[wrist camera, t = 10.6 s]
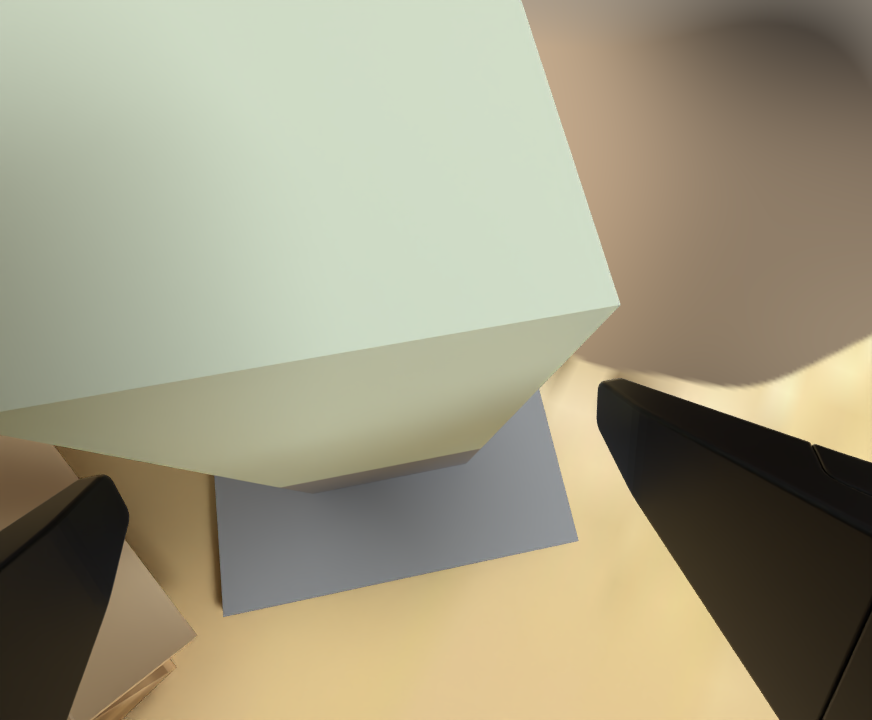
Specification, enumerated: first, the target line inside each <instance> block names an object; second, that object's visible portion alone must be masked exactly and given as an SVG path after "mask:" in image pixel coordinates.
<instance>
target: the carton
mask: <svg viewBox="0 0 872 720" xmlns="http://www.w3.org/2000/svg"><path fill="white" fill-rule="evenodd" d="M77 480H79V478H78V477H77V476H76V474H75V473H74V472H73V470H72V469H71V468H70V466H69V465H68V464H67V462H66V461H65V460H64V458H63V457H62V456H61V455H60V453H59V452H58V451H57V449H56V448H55V447H54V445H51V444H46V443H40V442H35V441H30V440H25V439H19V438H14V437H9V436H3V435H0V531H1V530H2V529H4V528H6V527H7V526H9V525H10V524H12V523H13V522H15V521H16V520H18V519H19V518H21V517H22V516H24V515H25V514H27V513H28V512H30V511H31V510H33V509H34V508H36V507H37V506H39V505H40V504H42V503H43V502H45V501H46V500H48V499H49V498H51V497H53V496H54V495H56V494H57V493H59V492H60V491H62V490H63V489H65V488H66V487H68V486H69V485H71V484H72V483H74V482H75V481H77ZM196 637H197V634H196V633H195V632H194V630H193V629H192V628H191V626H190V625H189V624H188V622H187V621H186V620H185V618H184V617H183V616H182V615H181V613H180V612H179V611H178V609H177V608H176V607H175V605H174V604H173V603H172V601H171V600H170V599H169V597H168V596H167V595H166V593H165V592H164V591H163V589H162V588H161V587H160V585H159V584H158V583H157V581H156V580H155V579H154V578H153V576H152V575H151V574H150V572H149V571H148V570H147V568H146V567H145V566H144V564H143V563H142V562H141V560H140V559H139V558H138V556H137V555H136V554H135V552H134V551H133V550H132V548H131V547H130V546H129V544H128V543H127V542H126V540H124V544H123V548H122V552H121V556H120V561H119V565H118V569H117V573H116V577H115V581H114V585H113V590H112V593H111V597H110V600H109V604H108V607H107V610H106V613H105V616H104V619H103V622H102V625H101V627H100V630H99V633H98V636H97V638H96V641H95V644H94V647H93V650H92V652H91V655H90V658H89V661H88V664H87V666H86V669H85V672H84V675H83V677H82V680H81V683H80V686H79V689H78V691H77V694H76V697H75V700H74V702H73V705H72V708H71V711H70V714H69V716H68V719H67V720H121V719H122V718H123V717H125V716H126V715H127V714H128V713H129V712H130V711H131V710H132V709H133V708H134V707H135V706H136V705H137V704H138V703H139V702H140V701H141V700H142V699H143V698H145V697H146V696H147V695H148V694H149V693H150V692H151V691H152V690H153V689H154V688H155V687H156V686H157V685H158V684H159V683H160V682H161V681H162V680H163V679H164V678H166V677H167V676H168V675H169V674H170V673H171V672H172V671H173V670H174V669H175V668H176V666H175V665H174V664H173V662H172V661H171V659H170V658H172V657H173V656H174V655H176V654H177V653H178V652H179V651H181V650H182V649H183V648H184V647H186V646H187V645H188V644H190V643H191V642H192V641H193V640H194V639H195V638H196Z"/></svg>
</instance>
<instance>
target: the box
mask: <svg viewBox="0 0 872 720" xmlns="http://www.w3.org/2000/svg"><path fill="white" fill-rule="evenodd" d="M619 306H620V302H619V298H618V296H617V292H616V289H615V286H614V284H613V280H612V277H611V274H610V271H609V268H608V265H607V262H606V259H605V256H604V253H603V250H602V247H601V243H600V240H599V237H598V234H597V231H596V228H595V225H594V222H593V219H592V216H591V213H590V210H589V207H588V204H587V201H586V197H585V194H584V191H583V188H582V185H581V182H580V179H579V176H578V173H577V170H576V167H575V164H574V161H573V158H572V155H571V151H570V148H569V145H568V142H567V139H566V137H565V133H564V130H563V127H562V124H561V121H560V118H559V115H558V112H557V109H556V106H555V103H554V99H553V96H552V94H551V90H550V87H549V84H548V81H547V78H546V75H545V72H544V69H543V66H542V63H541V60H540V57H539V53H538V51H537V47H536V44H535V41H534V38H533V35H532V32H531V29H530V26H529V23H528V20H527V17H526V14H525V11H524V8H523V5H522V1H521V0H0V435H3V436H9V437H14V438H19V439H25V440H30V441H35V442H40V443H46V444H51V445H56V446H62V447H67V448H72V449H78V450H83V451H88V452H93V453H99V454H104V455H109V456H115V457H120V458H125V459H130V460H136V461H141V462H146V463H152V464H157V465H162V466H168V467H173V468H178V469H183V470H189V471H194V472H199V473H205V474H210V475H215V476H221V477H226V478H231V479H236V480H242V481H247V482H252V483H258V484H263V485H268V486H273V487H279V488H284V489H289V490H295V491H300V492H305V493H311V494H315V493H320V492H325V491H330V490H335V489H341V488H346V487H351V486H356V485H361V484H366V483H371V482H376V481H381V480H386V479H391V478H396V477H402V476H407V475H412V474H417V473H422V472H427V471H432V470H437V469H442V468H447V467H452V466H457V465H463V464H466V463H467V462H468V461H469V460H470V459H471V458H472V457H473V456H474V455H475V454H476V453H477V452H478V451H479V450H480V449H481V448H482V447H483V446H484V445H485V444H486V443H487V442H488V441H489V440H490V439H491V438H492V437H493V436H494V435H495V433H496V432H497V431H498V430H499V429H500V428H501V427H502V426H503V425H504V424H505V423H506V422H507V421H508V420H509V419H510V418H511V417H512V416H513V415H514V414H515V413H516V412H517V411H518V410H519V409H520V408H521V407H522V406H523V405H524V404H525V403H526V402H527V401H528V400H529V399H530V397H531V396H532V395H533V394H534V393H535V392H536V391H537V390H538V389H539V388H540V387H541V386H542V385H543V384H544V383H545V382H546V381H547V380H548V379H549V378H550V377H551V376H552V375H553V374H554V373H555V372H556V371H557V370H558V369H559V368H560V367H561V366H562V365H563V364H564V363H565V361H566V360H567V359H568V358H569V357H570V356H571V355H572V354H573V353H574V352H575V351H576V350H577V349H578V348H579V347H580V346H581V345H582V344H583V343H584V342H585V341H586V340H587V339H588V338H589V337H590V336H591V335H592V333H594V332H595V331H596V330H597V328H599V327H600V325H601V324H602V323H603V322H604V321H605V320H606V319H607V318H608V317H609V316H610V315H611V314H612V313H613V312H614V311H615V310H616V309H617V308H618V307H619Z"/></svg>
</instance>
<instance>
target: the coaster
mask: <svg viewBox="0 0 872 720" xmlns="http://www.w3.org/2000/svg"><path fill="white" fill-rule="evenodd" d="M214 478H215V494H216V509H217V525H218V540H219V556H220V571H221V587H222V602H223V617H226V616H230V615H235V614H240V613H244V612H249V611H254V610H258V609H263V608H268V607H272V606H277V605H282V604H286V603H291V602H296V601H300V600H305V599H310V598H314V597H319V596H324V595H328V594H333V593H338V592H342V591H347V590H352V589H356V588H361V587H366V586H370V585H375V584H380V583H384V582H389V581H394V580H398V579H403V578H408V577H412V576H417V575H422V574H426V573H431V572H436V571H440V570H445V569H450V568H454V567H459V566H464V565H468V564H473V563H478V562H482V561H487V560H492V559H496V558H501V557H506V556H510V555H515V554H520V553H524V552H529V551H534V550H538V549H543V548H548V547H552V546H557V545H562V544H566V543H571V542H576V541H578V537H577V533H576V529H575V525H574V522H573V518H572V514H571V510H570V506H569V502H568V499H567V495H566V491H565V487H564V483H563V479H562V476H561V472H560V468H559V464H558V460H557V456H556V453H555V449H554V445H553V441H552V437H551V433H550V429H549V426H548V422H547V418H546V414H545V410H544V406H543V403H542V399H541V395H540V391H539V389H538V390H537V391H536V392H535V393H534V394H533V395H532V396H531V397H530V399H529V400H528V401H527V402H526V403H525V404H524V405H523V406H522V407H521V408H520V409H519V410H518V411H517V412H516V413H515V414H514V415H513V416H512V417H511V418H510V419H509V420H508V421H507V422H506V423H505V424H504V425H503V426H502V427H501V428H500V429H499V430H498V431H497V432H496V433H495V435H494V436H493V437H492V438H491V439H490V440H489V441H488V442H487V443H486V444H485V445H484V446H483V447H482V448H481V449H480V450H479V451H478V452H477V453H476V454H475V455H474V456H473V457H472V458H471V459H470V460H469V461H468V462H467V463H466V464H463V465H457V466H452V467H447V468H442V469H437V470H432V471H427V472H422V473H417V474H412V475H407V476H402V477H396V478H391V479H386V480H381V481H376V482H371V483H366V484H361V485H356V486H351V487H346V488H341V489H335V490H330V491H325V492H320V493H315V494H311V493H305V492H300V491H295V490H289V489H284V488H279V487H273V486H268V485H263V484H258V483H252V482H247V481H242V480H236V479H231V478H226V477H221V476H215V475H214Z"/></svg>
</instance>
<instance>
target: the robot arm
mask: <svg viewBox="0 0 872 720" xmlns="http://www.w3.org/2000/svg"><path fill="white" fill-rule="evenodd" d="M597 424H598V428H599V430H600V432H601V434H602V436H603V438H604V440H605V442H606V444H607V446H608V448H609V450H610V452H611V454H612V456H613V458H614V460H615V462H616V464H617V466H618V468H619V470H620V472H621V474H622V476H623V478H624V480H625V482H626V484H627V486H628V488H629V490H630V492H631V493H632V495H633V497H634V498H635V500H636V502H637V503H638V505H639V506H640V508H641V509H642V511H643V513H644V514H645V516H646V517H647V519H648V520H649V522H650V523H651V525H652V526H653V528H654V529H655V531H656V532H657V534H658V535H659V537H660V538H661V540H662V542H663V543H664V545H665V546H666V548H667V549H668V551H669V552H670V554H671V555H672V557H673V558H674V560H675V561H676V563H677V564H678V566H679V567H680V569H681V571H682V572H683V574H684V575H685V577H686V578H687V580H688V581H689V583H690V584H691V586H692V587H693V589H694V590H695V592H696V593H697V595H698V596H699V598H700V599H701V601H702V603H703V604H704V606H705V607H706V609H707V610H708V612H709V613H710V615H711V616H712V618H713V619H714V621H715V622H716V624H717V625H718V627H719V628H720V630H721V632H722V633H723V635H724V636H725V638H726V639H727V641H728V642H729V644H730V645H731V647H732V648H733V650H734V651H735V653H736V654H737V656H738V657H739V659H740V661H741V662H742V664H743V665H744V667H745V668H746V670H747V671H748V673H749V674H750V676H751V677H752V679H753V680H754V682H755V683H756V685H757V686H758V688H759V689H760V691H761V693H762V694H763V696H764V697H765V699H766V700H767V702H768V703H769V705H770V706H771V708H772V709H773V711H774V712H775V714H776V715H777V717H778V718H779V720H872V463H871V462H868V461H865V460H862V459H859V458H856V457H852V456H849V455H846V454H843V453H840V452H837V451H834V450H831V449H829V448H826V447H823V446H820V445H817V444H814V445H811V443H810V442H808V441H805V440H802V439H799V438H796V437H793V436H790V435H787V434H784V433H781V432H778V431H775V430H772V429H769V428H766V427H764V426H761V425H758V424H755V423H752V422H749V421H746V420H743V419H740V418H737V417H734V416H731V415H728V414H725V413H722V412H719V411H716V410H714V409H711V408H708V407H705V406H702V405H699V404H696V403H693V402H690V401H687V400H684V399H681V398H678V397H675V396H672V395H669V394H666V393H664V392H661V391H658V390H655V389H652V388H649V387H646V386H643V385H640V384H637V383H634V382H631V381H628V380H625V379H622V378H618V379H612V380H607V381H603V382H601V383H600V384H599V387H598V397H597ZM128 523H129V513H128V509H127V507H126V505H125V503H124V501H123V499H122V497H121V496H120V494H119V492H118V490H117V488H116V486H115V484H114V483H113V481H112V479H111V478H110V477H109V476H107V475H96V476H91V477H85V478H81V479H79V480H77V481H75V482H74V483H72V484H71V485H69V486H68V487H66V488H65V489H63V490H62V491H60V492H59V493H57V494H56V495H54V496H53V497H51V498H49V499H48V500H46V501H45V502H43V503H42V504H40V505H39V506H37V507H36V508H34V509H33V510H31V511H30V512H28V513H27V514H25V515H24V516H22V517H21V518H19V519H18V520H16V521H15V522H13V523H12V524H10V525H9V526H7V527H6V528H4V529H2V530H1V531H0V720H67V719H68V716H69V714H70V711H71V708H72V705H73V702H74V700H75V697H76V694H77V691H78V689H79V686H80V683H81V680H82V677H83V675H84V672H85V669H86V666H87V664H88V661H89V658H90V655H91V652H92V650H93V647H94V644H95V641H96V638H97V636H98V633H99V630H100V627H101V625H102V622H103V619H104V616H105V613H106V610H107V607H108V604H109V600H110V597H111V593H112V590H113V585H114V581H115V577H116V573H117V569H118V565H119V561H120V556H121V552H122V548H123V544H124V540H125V536H126V532H127V527H128Z"/></svg>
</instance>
